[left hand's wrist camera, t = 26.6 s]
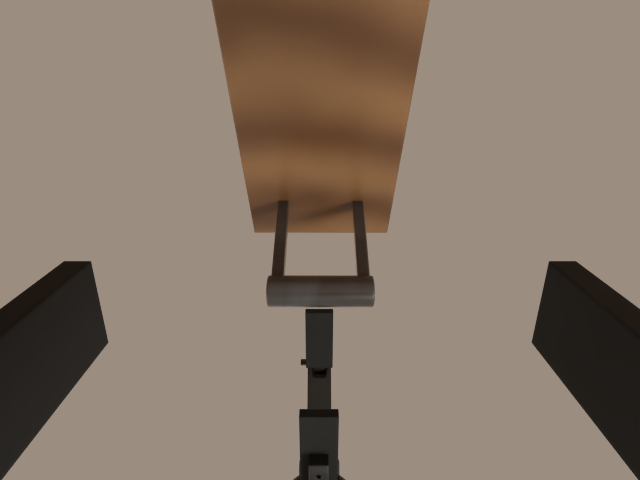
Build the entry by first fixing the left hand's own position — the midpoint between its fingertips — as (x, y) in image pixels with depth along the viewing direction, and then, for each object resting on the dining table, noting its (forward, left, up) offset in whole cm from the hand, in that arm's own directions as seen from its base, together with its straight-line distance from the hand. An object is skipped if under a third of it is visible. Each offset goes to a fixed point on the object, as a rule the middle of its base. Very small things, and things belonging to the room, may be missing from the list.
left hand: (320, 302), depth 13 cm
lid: (+11, -9, -3) cm, 15 cm away
